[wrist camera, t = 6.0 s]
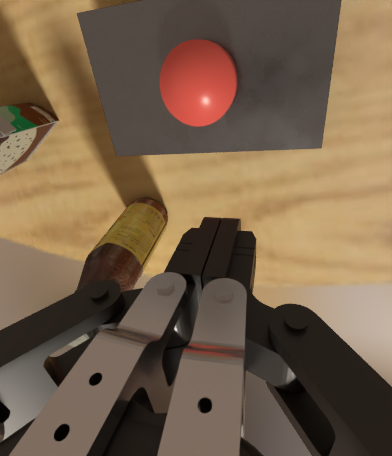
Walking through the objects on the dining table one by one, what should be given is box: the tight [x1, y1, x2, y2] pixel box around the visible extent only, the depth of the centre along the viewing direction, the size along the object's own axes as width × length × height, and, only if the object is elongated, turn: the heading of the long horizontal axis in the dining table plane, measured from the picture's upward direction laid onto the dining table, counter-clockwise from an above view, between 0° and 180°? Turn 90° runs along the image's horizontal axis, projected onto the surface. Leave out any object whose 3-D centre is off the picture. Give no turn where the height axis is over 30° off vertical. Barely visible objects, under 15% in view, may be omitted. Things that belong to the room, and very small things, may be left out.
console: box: [77, 0, 341, 156], centre depth 25 cm, size 20×12×6 cm, turn 97°
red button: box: [160, 39, 238, 126], centre depth 24 cm, size 6×6×7 cm
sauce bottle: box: [68, 198, 168, 347], centre depth 32 cm, size 7×6×20 cm
